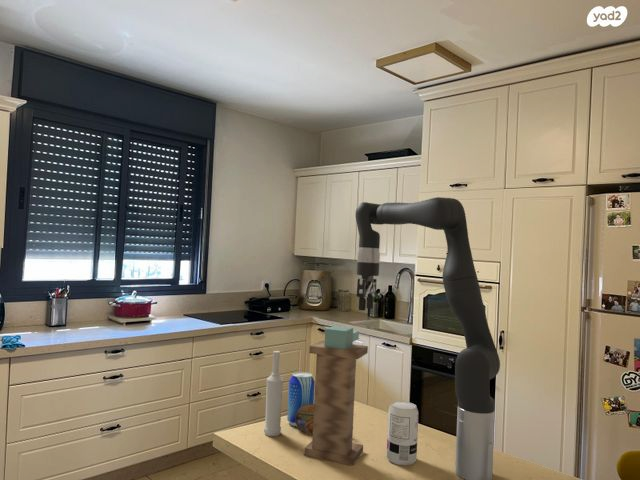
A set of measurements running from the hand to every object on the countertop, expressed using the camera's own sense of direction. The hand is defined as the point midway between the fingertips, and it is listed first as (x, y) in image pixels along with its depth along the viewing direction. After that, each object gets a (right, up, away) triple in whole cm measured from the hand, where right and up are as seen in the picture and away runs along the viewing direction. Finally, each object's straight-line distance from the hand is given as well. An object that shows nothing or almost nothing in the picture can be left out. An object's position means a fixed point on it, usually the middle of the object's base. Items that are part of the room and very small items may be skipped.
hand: (365, 309), depth 157 cm
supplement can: (+7, -38, -28) cm, 48 cm away
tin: (-16, -37, -10) cm, 42 cm away
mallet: (-8, -7, -20) cm, 23 cm away
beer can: (-22, -37, -4) cm, 43 cm away
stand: (-12, -37, -26) cm, 47 cm away
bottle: (-30, -36, -14) cm, 49 cm away
